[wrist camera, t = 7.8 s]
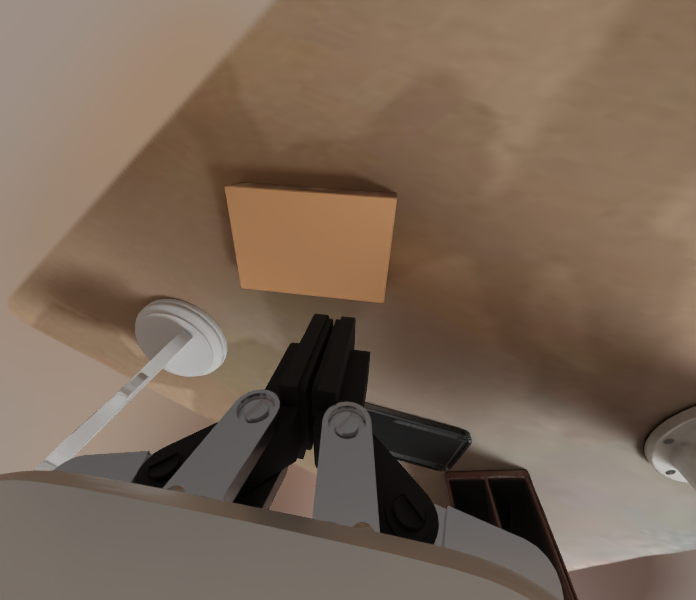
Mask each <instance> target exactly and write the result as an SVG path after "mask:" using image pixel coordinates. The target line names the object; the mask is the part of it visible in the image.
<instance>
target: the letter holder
mask: <svg viewBox="0 0 696 600" xmlns="http://www.w3.org/2000/svg"><path fill="white" fill-rule="evenodd" d="M445 479H446V483H447V488H448V494H449V498H450V503H451V507H452V508H454V509H457V510H459V511H461V512H464V513H466V514H468V515H471V516H473V517H475V518H477V519H480V520H482V521H484V522H487V523H489V524H491V525H494V526H496V527H498V528H500V529H503V530H505V531H507V532H510V533H512V534H514V535H516V536H519V537H521V538H523V539H526V540H527V541H529V542H530V543H532V544H534V545H535V546H537V547H538V548H539V549H540V550H541V551H542V552H543V553H544V554H545V555H546V556H547V557H548V559H549V560H550V562H551V564H552V565H553V567H554V568H555V570H556V572H557V575H558V578H559V580H560V583H561V587H562V592H563V597H564V600H578V598H577V596H576V593H575V590H574V588H573V585H572V582H571V580H570V577H569V575H568V572H567V569H566V567H565V564H564V561H563V559H562V556H561V554H560V551H559V549H558V546H557V544H556V541H555V539H554V536H553V534H552V531H551V529H550V526H549V524H548V521H547V518H546V516H545V513H544V511H543V508H542V506H541V503H540V501H539V498H538V496H537V494H536V491H535V488H534V486H533V483H532V480H531V478H530V475H529V473H528V471H527V470H488V471H456V472H445Z"/></svg>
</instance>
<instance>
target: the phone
mask: <svg viewBox="0 0 696 600" xmlns="http://www.w3.org/2000/svg"><path fill="white" fill-rule="evenodd" d="M364 408H365V409H366V410H367V412H368V413H369V415H370V418H371V423H372V432H373V434H374V435H375V436H376V437H377V438H378V439H379V440H380V442H381V443H382V444H383V445H384V446H385V447H386V448H387V450H388V451H389V452H390V453H391V454H392V455H393V456H394V457H395V459H397V460H400V461H404V462H408V463H411V464H415V465H419V466H422V467H426V468H430V469H433V470H437V471H448V470H450V469H451V468H452V466H453V465H454V464H455V463H456V462H457V460H458V459H459V458H460V457H461V456H462V454H463V453H464V452H465V451H466V450H467V448H468V447H469V446H470V445H471V443H472V439H471V436H470V433H469V432H468V431H466V430H463V429H459V428H456V427H452V426H448V425H445V424H441V423H437V422H434V421H430V420H427V419H423V418H419V417H416V416H412V415H408V414H405V413H401V412H398V411H394V410H390V409H387V408H383V407H380V406H376V405H372V404H369V403H365V407H364Z"/></svg>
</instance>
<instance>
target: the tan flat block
mask: <svg viewBox="0 0 696 600" xmlns="http://www.w3.org/2000/svg"><path fill="white" fill-rule="evenodd" d="M225 193H226V199H227V205H228V211H229V217H230V223H231V229H232V235H233V241H234V247H235V253H236V259H237V265H238V271H239V277H240V283H241V288H245V289H254V290H264V291H273V292H283V293H292V294H301V295H311V296H320V297H330V298H339V299H348V300H358V301H367V302H377V303H384V297H385V289H386V281H387V273H388V266H389V258H390V250H391V242H392V235H393V227H394V219H395V211H396V204H397V195H396V193H390V192H375V191H361V190H346V189H332V188H317V187H303V186H288V185H274V184H259V183H245V182H241V183H237V184H233V185H229V186H225Z"/></svg>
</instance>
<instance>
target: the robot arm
mask: <svg viewBox="0 0 696 600" xmlns="http://www.w3.org/2000/svg"><path fill="white" fill-rule="evenodd" d="M354 345H355V318H352V317H342V318H341V320H336V322H335V325H334V327H333V319H329V316H328V315H323V314H314V316H313V318H312V320H311V322H310V324H309V326H308V328H307V330H306V332H305V334H304V336H303V338H302V340H301V342H300V343H291V344H290V345H289V347H288V349H287V351H286V352H285V354H284V356H283V358H282V360H281V361H280V363H279V365H278V367H277V369H276V370H275V372H274V374H273V376H272V378H271V379H270V381H269V383H268V385H267V387H266V388H265V390H263V389H261V390H254V391H251V392H248V393H246V394H244V395H243V396H241V397H240V398H239V399H238V400H237V401H236V402H235V403H234V404H233V405H232V407H231V408H230V409H229V410H228V411H227V412H226V414H225V415H224V416H223V417H222V418H221V420H220V421H219V422H217V423H215V424H213V425H211V426H209V427H207V428H204V429H202V430H200V431H198V432H196V433H194V434H192V435H189V436H188V437H185V438H183V439H181V440H179V441H177V442H175V443H173V444H170V445H168V446H166V447H164V448H162V449H161V450H159V451H157V452H156V453H154V454H150V452H149V451H141V452H126V453H111V454H96V455H84V456H79V457H75V458H73V459H70V460H68V461H66V462H64V463H62V464H61V465H60V466H58V467H57V468H55V469H54V470H53V471H39V470H34V471H21V472H14V473H6V474H1V475H0V600H564V597H563V592H562V587H561V583H560V580H559V578H558V575H557V572H556V570H555V568H554V567H553V565H552V564H551V562H550V560H549V559H548V557H547V556H546V555H545V554H544V553H543V552H542V551H541V550H540V549H539V548H538V547H537V546H535V545H534V544H532V543H530V542H529V541H527V540H526V539H523V538H521V537H519V536H516V535H514V534H512V533H510V532H507V531H505V530H503V529H500V528H498V527H496V526H494V525H491V524H489V523H487V522H484V521H482V520H480V519H477V518H475V517H473V516H471V515H468V514H466V513H464V512H461V511H459V510H457V509H454V508H452V507H450V506H447V509H446V508H443V507H441V506H439V505H436V504H434V503H433V502H432V501H431V499H430V498H429V496H428V495H427V494H426V493H425V492H424V490H423V489H422V488H421V487H420V486H419V485H418V484H417V482H416V481H415V480H414V479H413V478H412V477H411V476H410V475H409V473H408V472H407V471H406V470H405V469H404V468H403V467H402V465H401V464H400V463H399V462H398V461H397V460H396V459H395V457H394V456H393V455H392V454H391V453H390V452H389V451H388V450H387V448H386V447H385V446H384V445H383V444H382V443H381V442H380V440H379V439H378V438H377V437H376V436H375V435H374V434H373V432H372V423H371V418H370V415H369V413H368V412H367V410H366V409H365V408H364V407H365V399H366V391H367V383H368V373H369V362H370V352H367V351H359V350H354ZM313 442H314V457H315V465H316V467H317V479H316V489H315V498H314V508H313V518H312V519H311V518H306V517H301V516H296V515H291V514H286V513H281V512H276V511H271V510H269V508H270V506H271V504H272V502H273V500H274V498H275V496H276V494H277V492H278V490H279V488H280V486H281V484H282V482H283V480H284V478H285V476H286V473H287V470H288V466H289V465H291V464H292V463H294V462H295V461H296V460H297V458H299V459H303V458H304V455H305V452H306V449H307V450H311V449H312V446H313ZM644 451H645V456H646V458H647V460H648V461H649V462H650V463H651V465H652V466H653V467H654V468H655V469H656V470H657V471H658V472H659V473H660V474H662V475H664V476H666V477H668V478H671V479H673V480H677V481H681V482H685V483H689V484H690V485H691V486H692V487H693V488H694V489H695V490H696V406H694V407H692V408H689V409H687V410H685V411H682V412H680V413H678V414H676V415H674V416H673V417H671V418H669V419H667V420H666V421H664V422H663V423H662V424H660V425H659V426H658V427H657V428H656V429H655V430H654V431H653V432H652V433H651V434H650V436H649V437H648V439H647V440H646V443H645V447H644Z"/></svg>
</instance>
